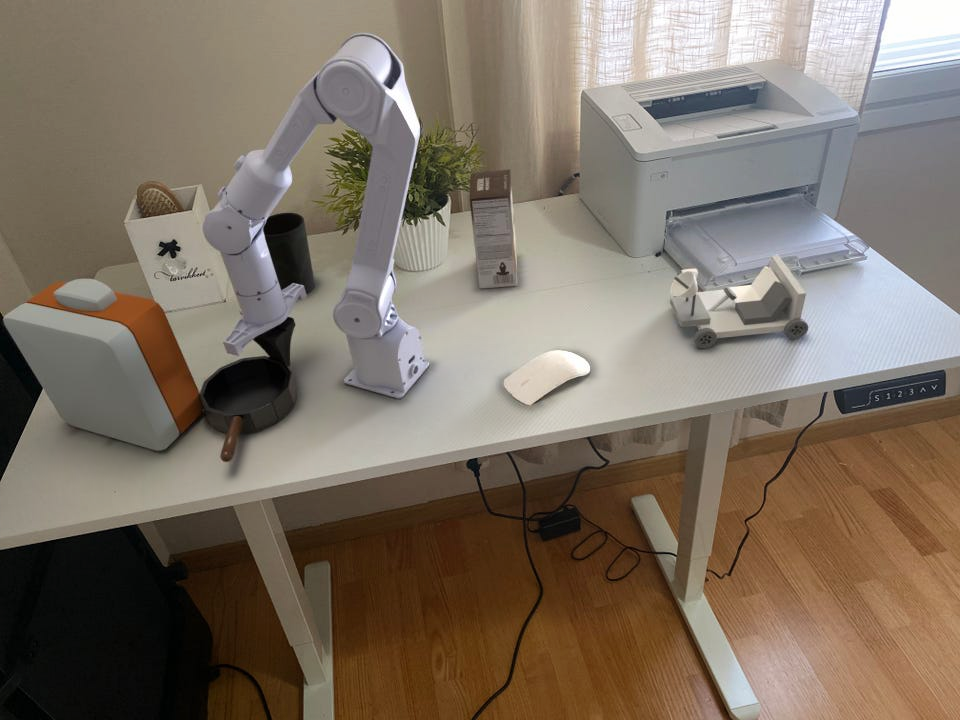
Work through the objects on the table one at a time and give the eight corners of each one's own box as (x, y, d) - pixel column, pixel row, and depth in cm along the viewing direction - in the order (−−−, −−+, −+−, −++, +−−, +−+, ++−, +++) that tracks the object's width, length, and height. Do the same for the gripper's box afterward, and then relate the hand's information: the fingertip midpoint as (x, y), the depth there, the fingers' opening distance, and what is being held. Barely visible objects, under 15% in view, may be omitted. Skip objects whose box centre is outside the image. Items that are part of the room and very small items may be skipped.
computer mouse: (497, 381, 99) (496, 368, 98) (568, 348, 104) (568, 335, 102) (525, 409, 94) (525, 395, 93) (599, 372, 99) (599, 359, 97)
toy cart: (680, 292, 95) (658, 247, 104) (674, 351, 101) (654, 304, 110) (820, 277, 94) (786, 233, 103) (806, 338, 100) (775, 292, 110)
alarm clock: (210, 411, 100) (155, 283, 87) (165, 456, 94) (99, 325, 81) (110, 385, 107) (45, 263, 94) (62, 425, 100) (-14, 300, 88)
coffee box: (479, 260, 125) (469, 171, 115) (516, 257, 124) (510, 167, 114) (478, 289, 117) (468, 197, 107) (518, 287, 117) (512, 194, 107)
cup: (311, 301, 119) (292, 236, 112) (267, 300, 121) (246, 235, 113) (327, 276, 125) (311, 212, 118) (286, 275, 127) (267, 212, 119)
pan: (219, 380, 105) (211, 360, 103) (302, 371, 105) (296, 351, 103) (183, 481, 90) (173, 461, 88) (281, 471, 90) (273, 450, 88)
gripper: (268, 252, 102) (292, 330, 111) (193, 308, 93) (226, 389, 101) (308, 260, 99) (330, 340, 108) (235, 319, 90) (266, 402, 98)
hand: (282, 365), depth 104 cm, fingers closed
